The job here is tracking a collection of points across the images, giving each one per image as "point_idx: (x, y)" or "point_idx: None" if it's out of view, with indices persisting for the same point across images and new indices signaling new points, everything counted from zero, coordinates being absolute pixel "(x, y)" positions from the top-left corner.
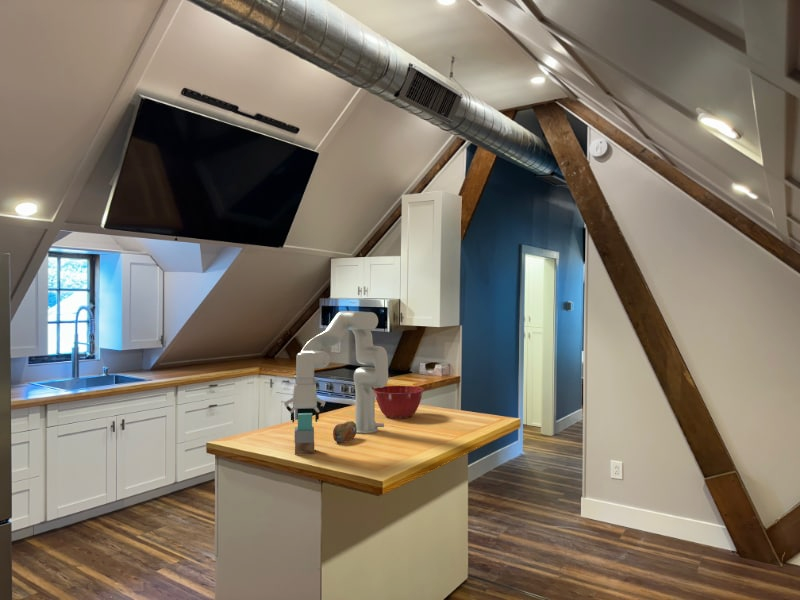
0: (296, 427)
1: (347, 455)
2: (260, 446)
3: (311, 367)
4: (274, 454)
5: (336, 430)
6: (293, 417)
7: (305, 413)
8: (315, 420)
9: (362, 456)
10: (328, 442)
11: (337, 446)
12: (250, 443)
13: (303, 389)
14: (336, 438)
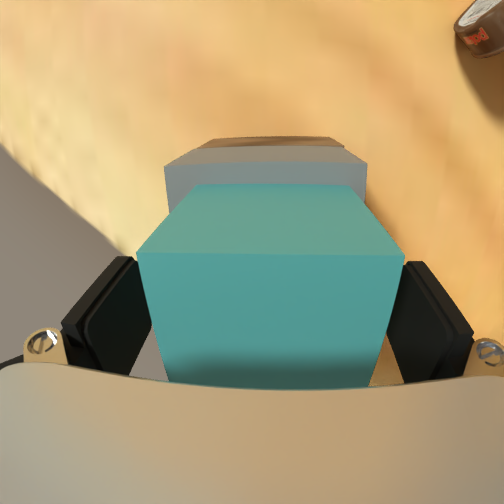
0: (182, 188)
1: (459, 281)
2: (39, 71)
3: None
4: (119, 220)
5: (500, 43)
6: (128, 365)
7: (277, 277)
8: (389, 341)
9: (494, 299)
10: (413, 5)
11: (458, 107)
12: (7, 31)
13: None
14: (472, 50)
